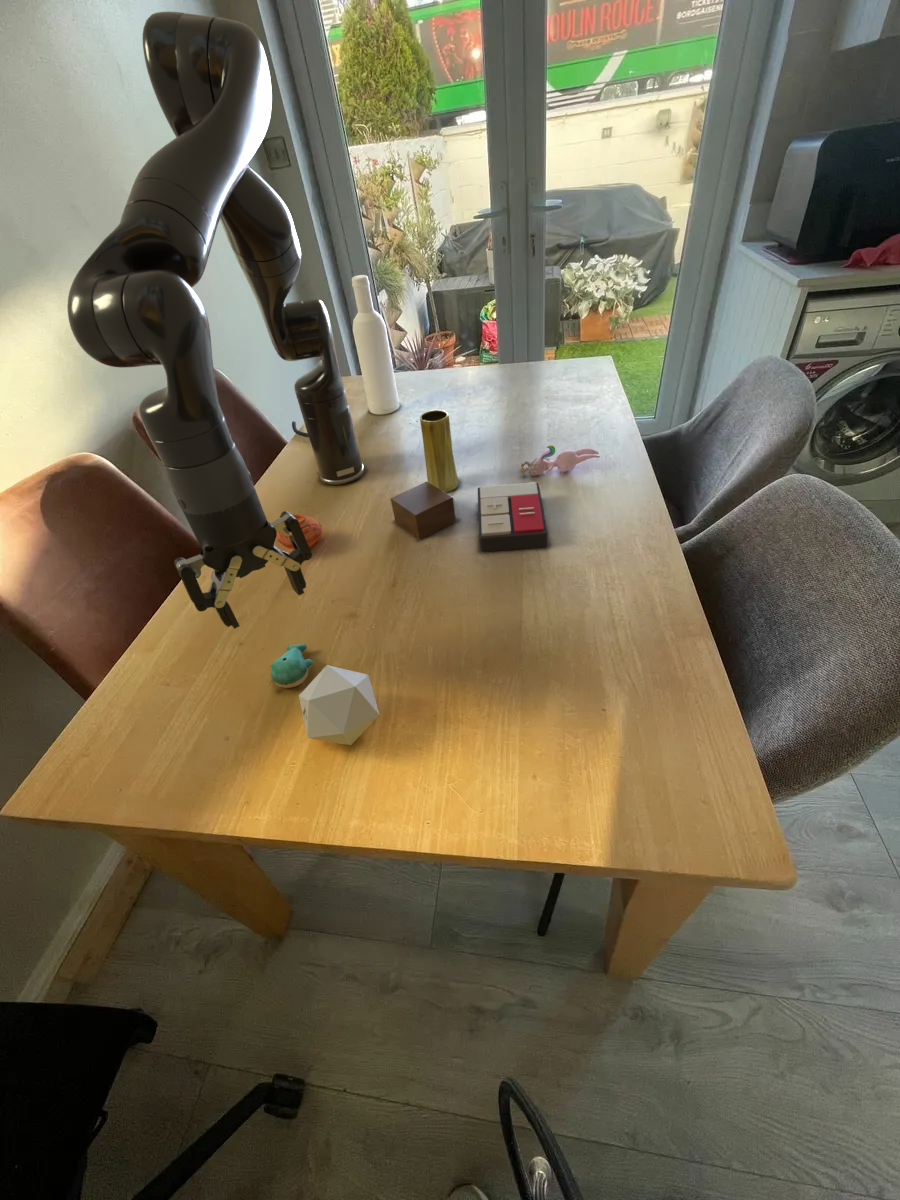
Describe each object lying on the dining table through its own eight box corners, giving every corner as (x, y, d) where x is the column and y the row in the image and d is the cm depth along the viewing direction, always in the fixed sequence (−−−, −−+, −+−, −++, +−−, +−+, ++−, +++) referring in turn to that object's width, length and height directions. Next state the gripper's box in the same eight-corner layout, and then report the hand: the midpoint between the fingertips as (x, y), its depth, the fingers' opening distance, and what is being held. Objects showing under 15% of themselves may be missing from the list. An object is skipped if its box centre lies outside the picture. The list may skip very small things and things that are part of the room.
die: (331, 694, 72) (273, 683, 64) (384, 663, 69) (330, 648, 61) (346, 756, 68) (286, 753, 60) (402, 726, 66) (348, 719, 57)
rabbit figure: (524, 487, 107) (603, 470, 104) (518, 460, 103) (600, 441, 100) (522, 472, 112) (597, 455, 109) (517, 445, 108) (594, 427, 105)
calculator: (478, 534, 88) (477, 483, 99) (480, 555, 91) (478, 503, 102) (547, 529, 87) (538, 478, 98) (547, 550, 90) (538, 498, 101)
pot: (271, 559, 95) (262, 522, 92) (297, 543, 102) (290, 507, 99) (310, 564, 93) (303, 525, 90) (334, 546, 99) (328, 510, 96)
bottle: (398, 413, 138) (374, 278, 119) (367, 416, 139) (339, 282, 119) (401, 400, 144) (378, 270, 125) (371, 404, 145) (344, 274, 125)
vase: (455, 493, 106) (447, 422, 97) (424, 493, 107) (413, 423, 98) (461, 477, 110) (453, 408, 101) (431, 477, 112) (421, 409, 102)
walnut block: (395, 522, 101) (390, 498, 97) (430, 504, 104) (426, 481, 101) (419, 539, 96) (415, 515, 92) (456, 521, 99) (453, 496, 95)
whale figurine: (267, 692, 73) (257, 673, 70) (281, 652, 78) (272, 633, 76) (309, 690, 72) (301, 671, 70) (320, 649, 78) (313, 630, 75)
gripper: (265, 456, 62) (306, 569, 73) (137, 505, 57) (201, 620, 67) (293, 478, 57) (332, 595, 68) (156, 534, 52) (222, 653, 62)
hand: (267, 607), depth 68 cm, fingers open, 8 cm apart
